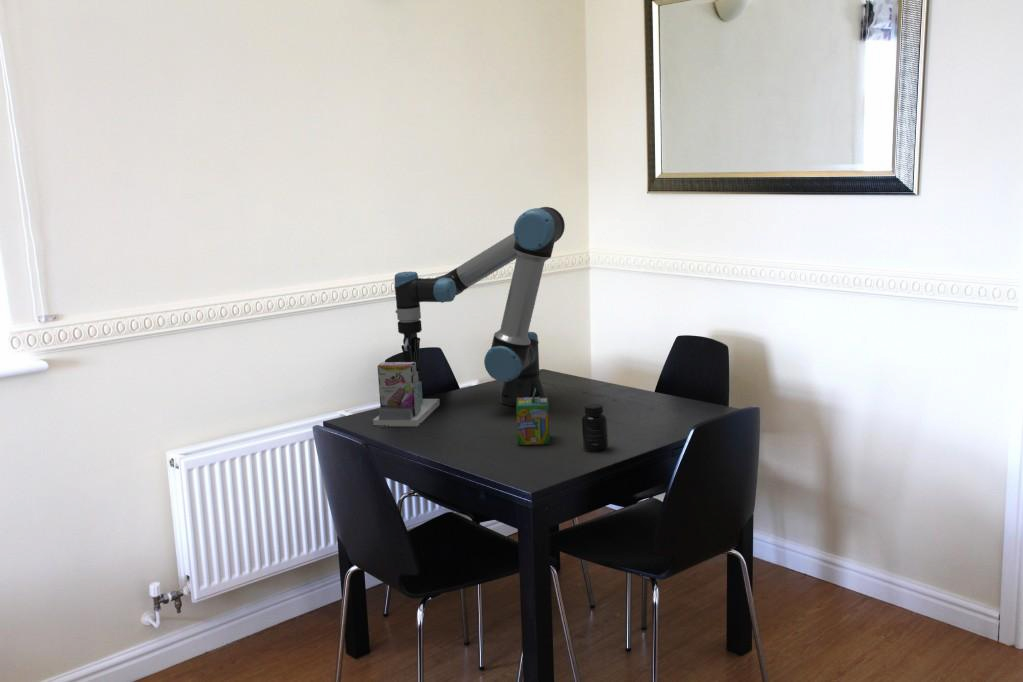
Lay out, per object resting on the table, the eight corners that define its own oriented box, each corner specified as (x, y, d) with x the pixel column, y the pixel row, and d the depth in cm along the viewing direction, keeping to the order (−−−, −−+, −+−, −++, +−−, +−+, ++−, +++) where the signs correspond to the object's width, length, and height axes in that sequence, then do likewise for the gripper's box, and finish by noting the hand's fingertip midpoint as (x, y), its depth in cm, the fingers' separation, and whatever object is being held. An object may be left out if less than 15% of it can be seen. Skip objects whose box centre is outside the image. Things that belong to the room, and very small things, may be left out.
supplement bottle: (583, 445, 255) (581, 402, 252) (608, 444, 254) (606, 402, 252) (582, 452, 248) (580, 409, 246) (608, 452, 247) (606, 408, 245)
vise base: (398, 404, 309) (397, 388, 308) (439, 404, 306) (438, 388, 305) (373, 426, 284) (372, 408, 283) (417, 426, 282) (416, 408, 281)
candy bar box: (380, 417, 286) (376, 365, 283) (385, 413, 291) (381, 361, 288) (415, 417, 284) (411, 364, 281) (419, 412, 289) (416, 361, 286)
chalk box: (517, 436, 266) (515, 386, 263) (550, 435, 266) (547, 384, 263) (517, 446, 257) (514, 394, 254) (550, 444, 256) (548, 392, 254)
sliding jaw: (399, 402, 303) (397, 381, 301) (428, 402, 301) (427, 381, 300) (387, 412, 291) (385, 390, 290) (418, 412, 289) (416, 390, 288)
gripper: (404, 316, 305) (409, 386, 310) (391, 324, 293) (397, 396, 298) (426, 316, 304) (431, 386, 308) (414, 323, 291) (420, 396, 296)
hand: (414, 391), depth 303 cm, fingers closed
